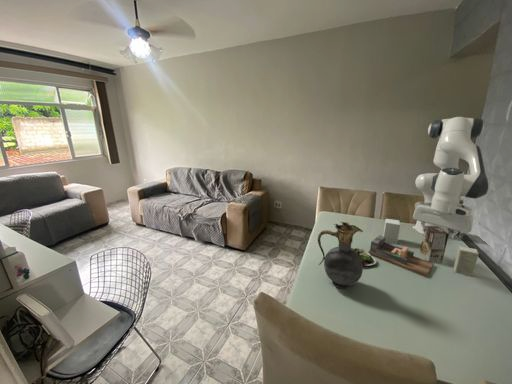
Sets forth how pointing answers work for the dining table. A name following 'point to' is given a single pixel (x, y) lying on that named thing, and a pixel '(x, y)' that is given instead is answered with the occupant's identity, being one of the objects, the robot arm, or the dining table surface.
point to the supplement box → (391, 230)
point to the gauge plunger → (400, 252)
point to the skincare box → (465, 260)
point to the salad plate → (365, 258)
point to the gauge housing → (399, 257)
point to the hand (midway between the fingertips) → (437, 234)
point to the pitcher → (342, 257)
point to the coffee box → (434, 244)
